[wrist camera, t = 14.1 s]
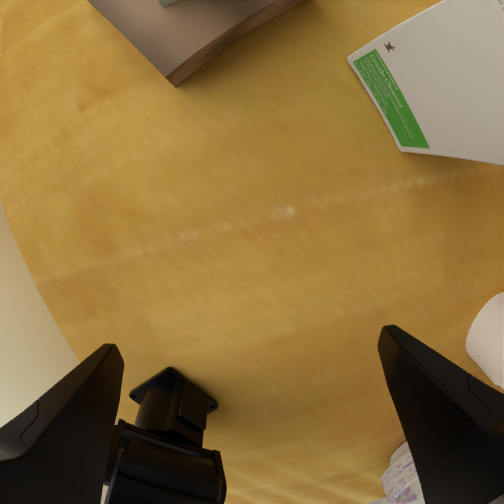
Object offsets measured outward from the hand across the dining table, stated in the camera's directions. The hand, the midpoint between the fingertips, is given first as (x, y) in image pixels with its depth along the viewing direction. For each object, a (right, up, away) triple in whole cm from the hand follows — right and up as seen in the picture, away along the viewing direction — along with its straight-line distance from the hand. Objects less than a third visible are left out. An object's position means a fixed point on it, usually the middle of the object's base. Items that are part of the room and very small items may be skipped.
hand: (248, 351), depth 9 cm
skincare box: (+11, +15, +9) cm, 21 cm away
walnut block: (-4, +22, +5) cm, 23 cm away
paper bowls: (+26, -26, +24) cm, 44 cm away
